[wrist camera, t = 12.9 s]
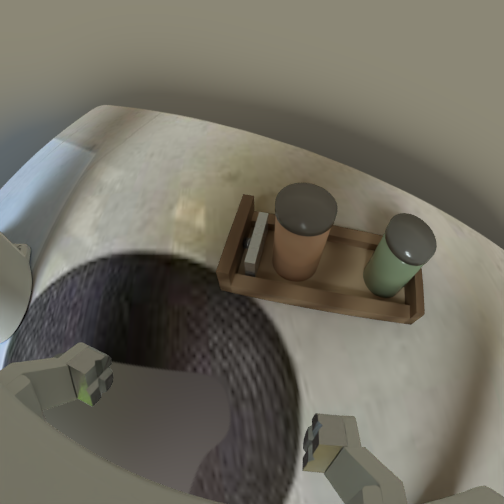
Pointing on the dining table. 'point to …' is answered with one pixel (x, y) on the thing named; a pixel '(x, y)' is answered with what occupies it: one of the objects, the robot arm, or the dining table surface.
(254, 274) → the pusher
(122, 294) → the dining table surface
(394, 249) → the olive jar
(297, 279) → the terracotta jar
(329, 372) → the dining table surface
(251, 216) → the wooden tray
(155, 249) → the dining table surface
